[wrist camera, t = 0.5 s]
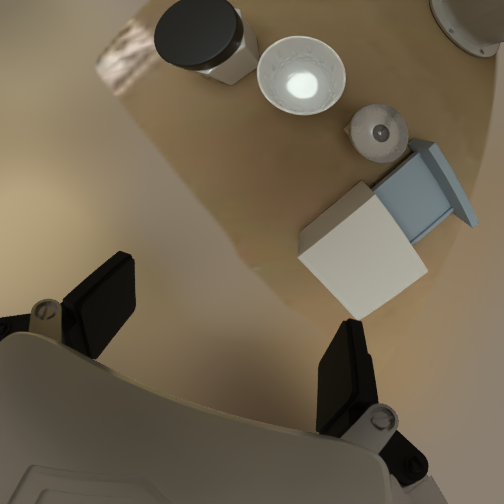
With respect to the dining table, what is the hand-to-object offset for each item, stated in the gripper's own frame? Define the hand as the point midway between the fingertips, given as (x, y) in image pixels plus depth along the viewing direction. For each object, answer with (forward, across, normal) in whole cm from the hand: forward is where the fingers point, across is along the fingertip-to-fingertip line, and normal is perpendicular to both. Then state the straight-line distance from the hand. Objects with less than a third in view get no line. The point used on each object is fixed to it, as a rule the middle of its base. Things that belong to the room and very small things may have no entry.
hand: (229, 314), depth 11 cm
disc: (+20, -8, -10) cm, 24 cm away
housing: (+26, -12, +4) cm, 29 cm away
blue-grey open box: (+26, -17, -3) cm, 31 cm away
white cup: (+27, 0, -12) cm, 29 cm away
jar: (+27, +10, -15) cm, 32 cm away
